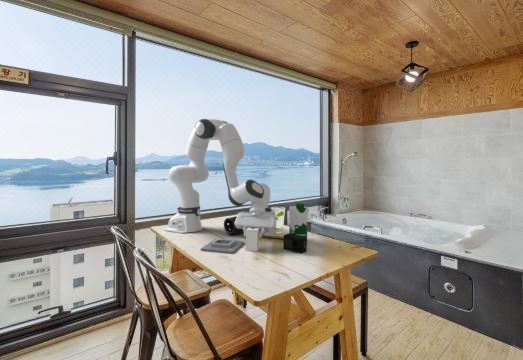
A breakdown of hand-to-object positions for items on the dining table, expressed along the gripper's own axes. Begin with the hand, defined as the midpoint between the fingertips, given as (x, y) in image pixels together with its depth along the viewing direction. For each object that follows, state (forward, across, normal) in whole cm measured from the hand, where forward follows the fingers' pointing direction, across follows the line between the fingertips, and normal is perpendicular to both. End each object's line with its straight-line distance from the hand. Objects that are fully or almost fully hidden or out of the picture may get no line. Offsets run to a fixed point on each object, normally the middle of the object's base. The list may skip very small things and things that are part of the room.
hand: (252, 236), depth 130 cm
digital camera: (+2, +19, +8) cm, 21 cm away
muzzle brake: (-18, -13, +27) cm, 35 cm away
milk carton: (-9, +19, +18) cm, 28 cm away
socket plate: (+4, -15, +5) cm, 16 cm away
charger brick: (+4, 0, +5) cm, 6 cm away
